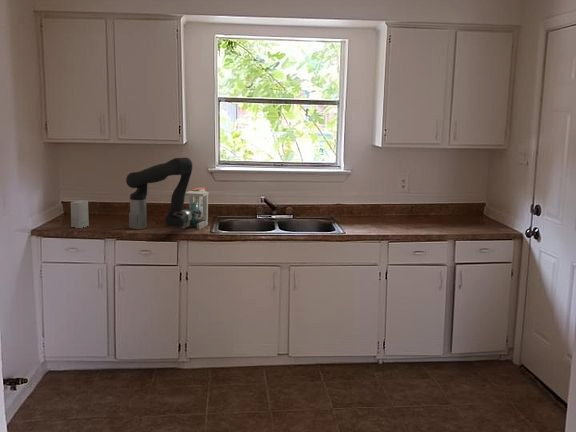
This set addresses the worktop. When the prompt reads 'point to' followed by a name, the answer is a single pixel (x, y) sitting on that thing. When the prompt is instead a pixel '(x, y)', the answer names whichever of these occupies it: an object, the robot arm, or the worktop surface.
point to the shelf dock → (203, 221)
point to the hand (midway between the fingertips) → (195, 211)
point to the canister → (194, 208)
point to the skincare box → (79, 214)
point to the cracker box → (199, 199)
